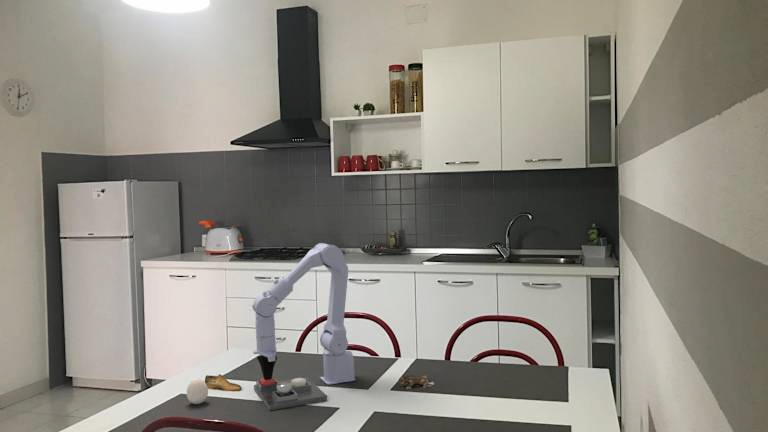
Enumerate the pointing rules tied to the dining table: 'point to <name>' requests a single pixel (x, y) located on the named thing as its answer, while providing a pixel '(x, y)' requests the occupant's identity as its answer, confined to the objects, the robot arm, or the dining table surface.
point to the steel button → (284, 388)
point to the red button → (267, 381)
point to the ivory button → (298, 382)
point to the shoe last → (221, 383)
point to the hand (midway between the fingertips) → (267, 379)
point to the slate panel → (289, 395)
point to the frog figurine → (415, 381)
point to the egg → (197, 391)
